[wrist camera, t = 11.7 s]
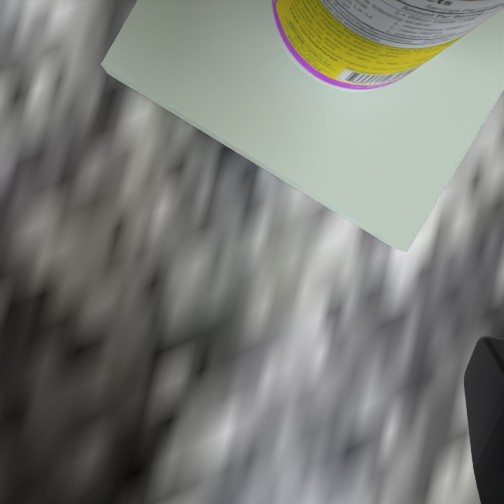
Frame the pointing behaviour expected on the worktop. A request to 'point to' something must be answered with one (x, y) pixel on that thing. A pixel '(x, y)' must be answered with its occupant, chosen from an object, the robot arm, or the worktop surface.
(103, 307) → the worktop surface
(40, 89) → the worktop surface
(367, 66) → the supplement bottle
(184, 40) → the sage board
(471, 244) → the worktop surface
